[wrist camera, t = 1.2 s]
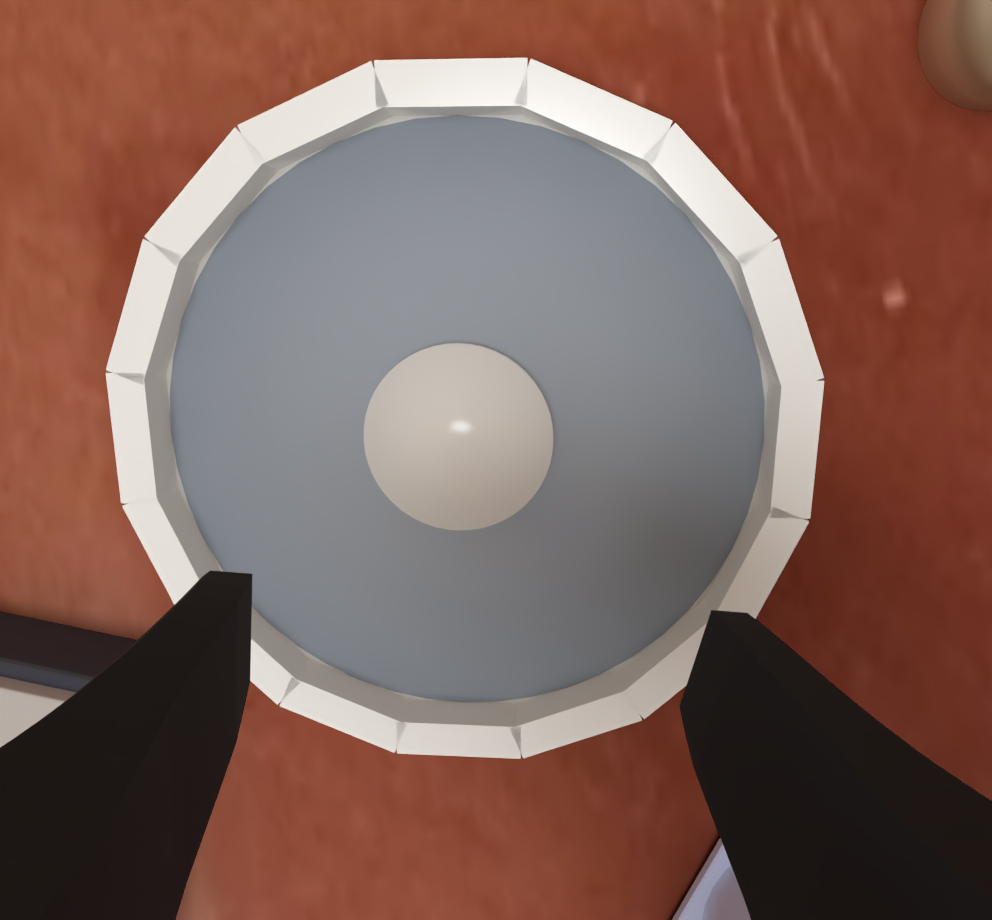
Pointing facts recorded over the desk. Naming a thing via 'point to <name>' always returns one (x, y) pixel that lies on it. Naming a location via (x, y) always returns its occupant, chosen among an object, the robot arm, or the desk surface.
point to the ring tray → (467, 403)
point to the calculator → (46, 667)
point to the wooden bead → (958, 51)
